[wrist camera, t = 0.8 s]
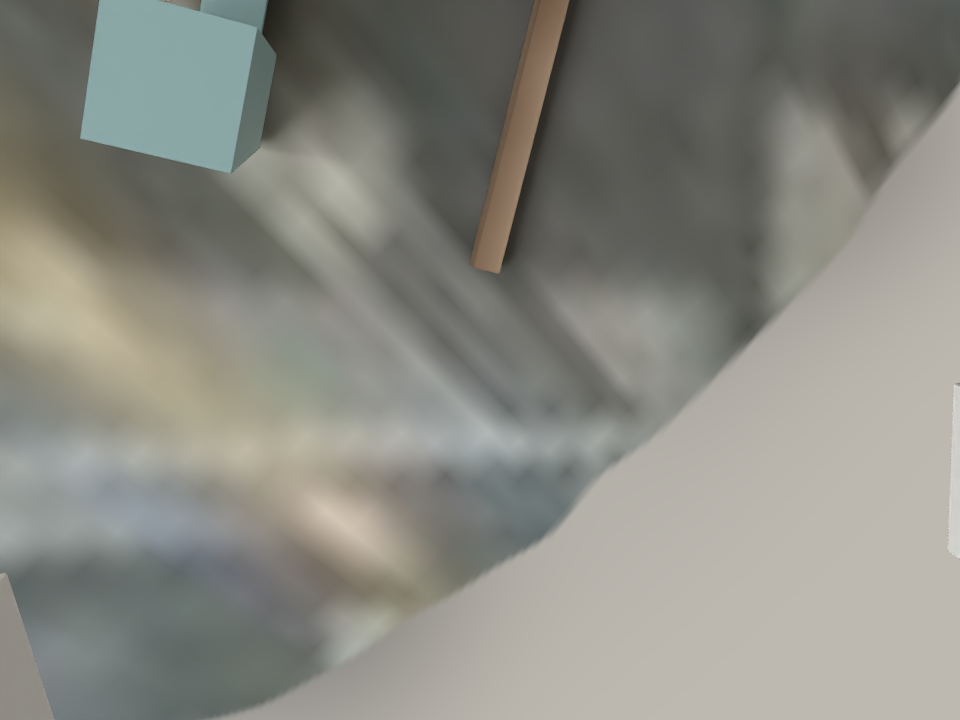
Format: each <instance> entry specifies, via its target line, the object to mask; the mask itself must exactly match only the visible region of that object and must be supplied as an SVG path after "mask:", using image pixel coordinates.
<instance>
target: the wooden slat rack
mask: <svg viewBox="0 0 960 720" xmlns="http://www.w3.org/2000/svg"><path fill="white" fill-rule="evenodd" d="M568 4H569V0H535V1H534V5H533V9H532V13H531V17H530V21H529V25H528V29H527V33H526V37H525V41H524V45H523V50H522V54H521V58H520V62H519V66H518V70H517V74H516V78H515V82H514V86H513V90H512V94H511V98H510V102H509V106H508V110H507V114H506V118H505V122H504V126H503V130H502V134H501V138H500V142H499V146H498V150H497V154H496V158H495V162H494V166H493V170H492V174H491V178H490V182H489V186H488V191H487V195H486V199H485V203H484V207H483V211H482V215H481V219H480V223H479V227H478V231H477V235H476V239H475V243H474V247H473V251H472V255H471V259H470V264H471V265H472V266H473V267H474V268H477V269H481V270H485V271H490V272H494V273H500V269H501V265H502V261H503V257H504V253H505V249H506V246H507V242H508V238H509V234H510V230H511V226H512V222H513V218H514V214H515V211H516V207H517V203H518V199H519V195H520V191H521V187H522V183H523V179H524V175H525V172H526V168H527V164H528V160H529V156H530V152H531V148H532V144H533V140H534V137H535V133H536V129H537V125H538V121H539V117H540V113H541V109H542V105H543V101H544V98H545V94H546V90H547V86H548V82H549V78H550V74H551V70H552V66H553V63H554V59H555V55H556V51H557V47H558V43H559V39H560V35H561V31H562V28H563V24H564V20H565V16H566V12H567V8H568Z"/></svg>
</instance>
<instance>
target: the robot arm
mask: <svg viewBox="0 0 960 720" xmlns="http://www.w3.org/2000/svg"><path fill="white" fill-rule="evenodd" d="M951 452H952V453H951V477H950V478H951V479H950V504H949V506H950V507H949V531H948V551H949V552H950V553H952V554H953V555H954V556H956V557H957V558H959V559H960V383H957V384H954V399H953V425H952V451H951ZM0 720H54V717H53V714H52V711H51V708H50V705H49V702H48V699H47V695H46V692H45V689H44V686H43V683H42V680H41V677H40V674H39V671H38V668H37V665H36V662H35V659H34V656H33V653H32V649H31V646H30V643H29V640H28V637H27V634H26V631H25V628H24V625H23V622H22V619H21V616H20V613H19V610H18V606H17V603H16V600H15V597H14V594H13V591H12V588H11V585H10V582H9V579H8V576H7V573H2V574H0Z"/></svg>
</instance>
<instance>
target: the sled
mask: <svg viewBox="0 0 960 720" xmlns="http://www.w3.org/2000/svg"><path fill="white" fill-rule="evenodd" d="M267 5H268V0H201V6H200V11H196V10H192V9H189V8H185V7H181V6H178V5H174V4H170V3H167V2H163V1H159V0H100V1H99V8H98V15H97V22H96V29H95V36H94V43H93V50H92V57H91V64H90V72H89V79H88V86H87V93H86V100H85V107H84V114H83V121H82V128H81V136H80V138H81V139H85V140H89V141H94V142H98V143H102V144H106V145H111V146H115V147H119V148H124V149H128V150H132V151H136V152H141V153H145V154H149V155H154V156H158V157H162V158H166V159H171V160H175V161H179V162H184V163H188V164H192V165H196V166H201V167H205V168H209V169H213V170H218V171H222V172H226V173H232V172H233V171H234V170H235V169H237V168H238V167H239V166H240V165H241V164H242V163H243V162H244V161H245V160H247V159H248V158H249V157H250V156H251V155H252V154H253V153H254V152H256V151H257V150H258V149H259V148H260V143H261V138H262V132H263V127H264V122H265V116H266V111H267V106H268V100H269V95H270V90H271V84H272V79H273V74H274V68H275V63H276V58H277V55H276V53H275V52H274V50H273V49H272V48H271V46H270V45H269V43H268V42H267V40H266V39H265V38H264V36H263V35H262V32H263V27H264V21H265V16H266V10H267Z"/></svg>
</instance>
